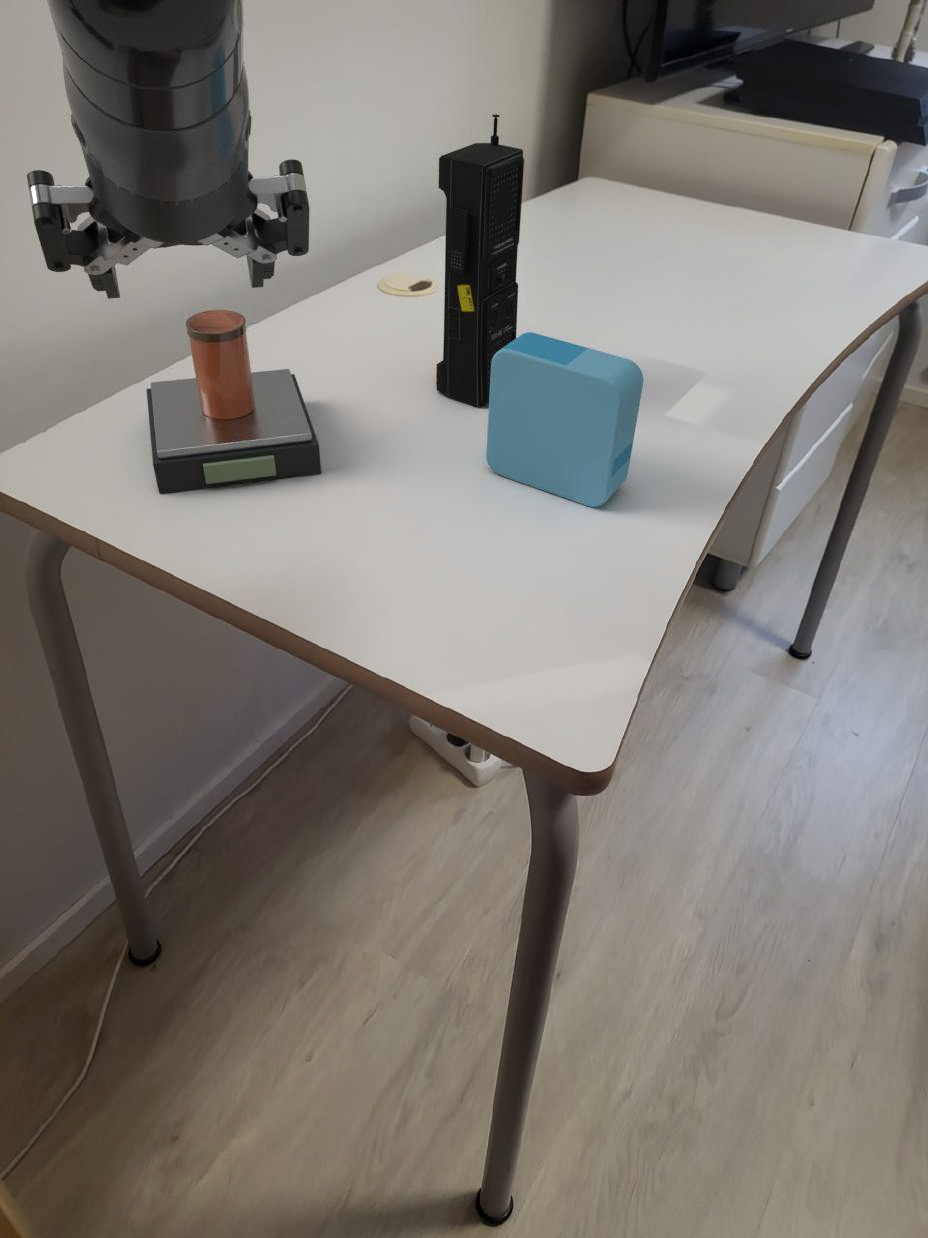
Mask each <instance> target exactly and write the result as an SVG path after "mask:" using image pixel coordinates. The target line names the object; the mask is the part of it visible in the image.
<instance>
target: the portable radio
mask: <svg viewBox="0 0 928 1238" xmlns="http://www.w3.org/2000/svg"><path fill="white" fill-rule="evenodd" d="M500 116H501V115H500V114H492V115H491V117H492V118H493V130H492V131H493V132H492V135H490V142H475V143H472V144H469V145H466V146H464V147H461V148H459V149H456V150H453V151H451V152H448V153H445V154H441V156H440V157H438V189H439V190H441V191H442V192H443V194H444V195H445V200H446V201H445V202H446V203H445V245H444V246H445V247H444V248H445V251H444V253H445V254H444V301H443V302H444V303H443V304H444V305H443V306H444V307H443V347H442V348H443V351H442V360H441V361H439V362H438V363H436V369H435V371H436V372H435V373H436V374H435V375H436V376H435V377H436V378H435V379H436V380H435V381H436V383H435V385H436V386H435V387H436V389H435V390H436V391H437V392H439V393H440V394H441V395H444V396H446V397H448V398H450V399H451V398H452V399H454V400H457V401H460V402H463V403H465V404H469V405H472V406H475V407H477V408H480V407H481V408H482V407H484V405H486V404H487V403H489V395H490V377H491V362H492V358H493V356H494V355H495V353H497V352H498V351H499V350H500V349H502V348H503V347H505V346H506V345H508V344H509V343H510V342H512V341H513V340H515V339H516V338H517V326H518V325H517V324H518V301H519V284H518V282H517V269H518V268H517V267H518V249H519V248H518V247H519V244H520V234H521V219H522V218H521V217H522V202H523V201H522V200H523V187H524V170H525V158H524V151H523V148H519V147H514V146H508V145H503V144H499V143H500V136H499V135H498V121H499V120H498V118H500Z"/></svg>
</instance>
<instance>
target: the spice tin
mask: <svg viewBox="0 0 928 1238" xmlns="http://www.w3.org/2000/svg"><path fill="white" fill-rule="evenodd" d="M185 329H186V334H187V336H188V340H189V346H190V352H191V358H192V364H193V370H194V375H195V378H196V382H197V388H198V394H199V400H200V406H201V411H202V412H203V413H204V414H205V415H206V416H208V417H211V418H215V419H235V418H239V417H243V416H245V415H247V414H249V413H250V412H252V411H253V409H254V408H255V399H254V391H253V383H252V375H251V373H252V368H251V367H252V366H251V360H250V351H249V344H248V335H247V330H248V327H247V319H246V317H245V316H244V315H243V314H241V313H239V312H238V311H237V312H236V311H234V310H228V309H211V310H205V311H200V312H197V313H195V314H193V315H191V316H189V317H188V318H187V319H186V321H185Z"/></svg>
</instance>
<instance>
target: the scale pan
mask: <svg viewBox="0 0 928 1238" xmlns="http://www.w3.org/2000/svg"><path fill="white" fill-rule="evenodd" d="M291 374H292V373H291V370H290V368H283V369H273V370H263V371H251V375H252V383H253V391H254V399H255V408H254V409H253V411H252V412H250V413H249V414H247V415H245V416H243V417H239V418H235V419H215V418H211V417H208V416H206V415H205V414H204V413H203V412H202V411H201V406H200V400H199V394H198V388H197V382H196V377H193V378H181V379H173V380H162V381H151V382H150V388H151V394H152V404H153V415H154V425H155V435H156V446H157V454H158V459H167V458H175V457H184V456H192V455H201V454H209V453H218V452H226V451H235V450H243V449H252V448H260V447H269V446H277V445H285V444H294V443H302V442H311V441H312V434H311V431H310V428H309V425H308V422H307V419H306V416H305V413H304V410H303V408H302V405H301V402H300V399H299V396H298V393H297V390H296V387H295V384H294V381H293V378H292V375H291Z"/></svg>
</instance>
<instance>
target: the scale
mask: <svg viewBox="0 0 928 1238" xmlns="http://www.w3.org/2000/svg"><path fill="white" fill-rule="evenodd" d="M291 375H292V378H293V381H294V384H295V387H296V390H297V393H298V396H299V399H300V402H301V405H302V408H303V410H304V413H305V416H306V419H307V422H308V425H309V428H310V431H311V434H312V441H311V442H302V443H294V444H285V445H277V446H269V447H260V448H252V449H243V450H235V451H226V452H218V453H209V454H201V455H192V456H184V457H175V458H167V459H158V454H157V446H156V435H155V425H154V415H153V404H152V394H151V387H150V388H146V401H147V413H148V423H149V434H150V446H151V447H150V448H151V457H152V466H153V471H154V476H155V481H156V485H157V490H158V493H159V495H160V494H161V495H162V494H169V493H177V492H185V491H193V490H200V489H208V488H215V487H216V488H218V487H225V486H232V485H240V484H248V483H256V482H264V481H272V480H277V479H278V480H280V479H287V478H295V477H296V478H297V477H304V476H311V475H318V474H322V465H321V454H320V443H319V441H318V440H319V439H318V438H317V435H316V432H315V429H314V426H313V424H312V421H311V418H310V415H309V412H308V409H307V406H306V403H305V401H304V398H303V394H302V392H301V389H300V387H299V384H298V381H297V377H296V375H295V373H291Z"/></svg>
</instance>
